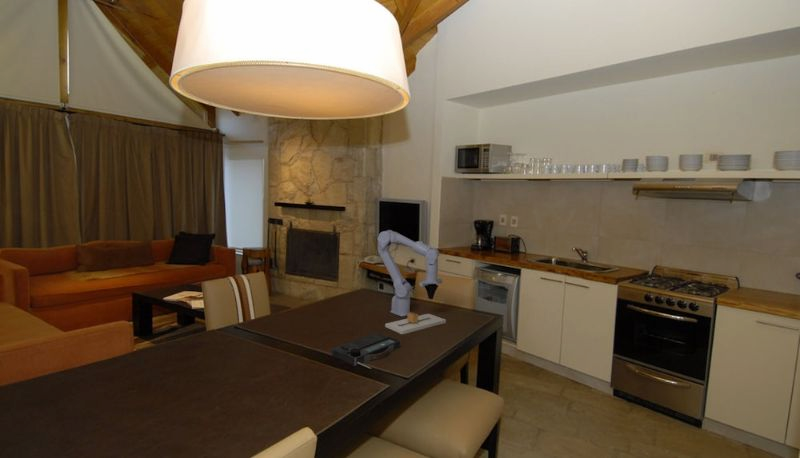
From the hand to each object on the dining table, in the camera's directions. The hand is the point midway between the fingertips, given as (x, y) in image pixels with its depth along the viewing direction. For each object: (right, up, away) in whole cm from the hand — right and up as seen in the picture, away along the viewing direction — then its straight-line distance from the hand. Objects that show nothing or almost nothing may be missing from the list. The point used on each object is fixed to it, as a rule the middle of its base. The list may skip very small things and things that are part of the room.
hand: (430, 298), depth 203 cm
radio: (-26, -14, -47) cm, 56 cm away
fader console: (-8, -10, -12) cm, 18 cm away
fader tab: (-10, -8, -14) cm, 19 cm away
